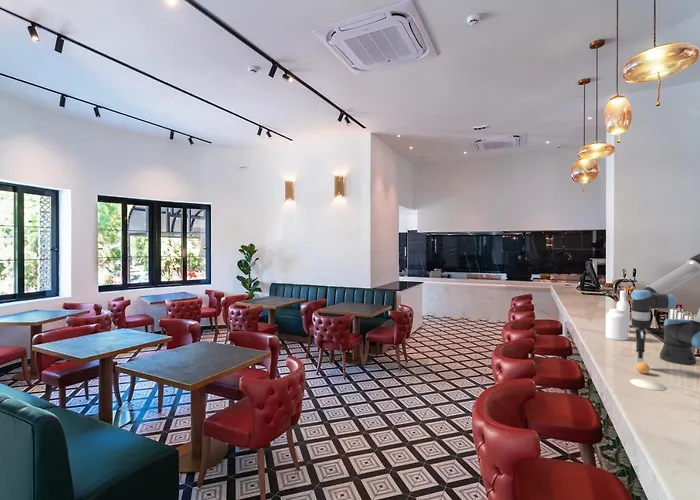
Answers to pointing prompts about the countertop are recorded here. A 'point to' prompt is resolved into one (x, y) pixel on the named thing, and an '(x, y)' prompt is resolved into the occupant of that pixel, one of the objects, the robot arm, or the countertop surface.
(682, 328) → the robot arm
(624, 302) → the bottle
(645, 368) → the ball
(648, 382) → the white plate
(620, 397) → the countertop surface
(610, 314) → the white container
